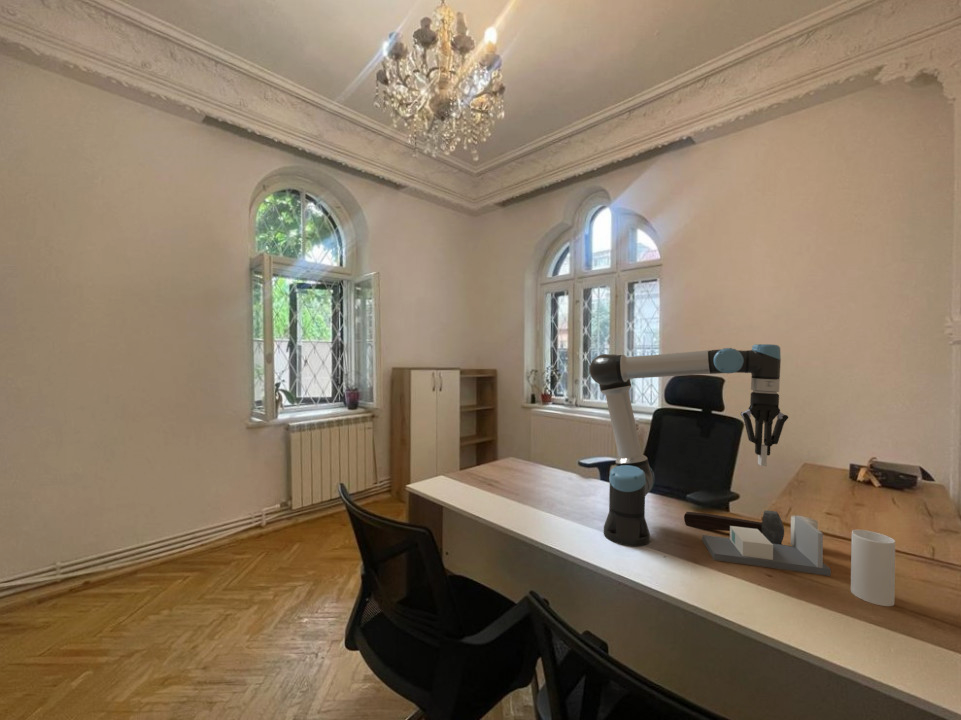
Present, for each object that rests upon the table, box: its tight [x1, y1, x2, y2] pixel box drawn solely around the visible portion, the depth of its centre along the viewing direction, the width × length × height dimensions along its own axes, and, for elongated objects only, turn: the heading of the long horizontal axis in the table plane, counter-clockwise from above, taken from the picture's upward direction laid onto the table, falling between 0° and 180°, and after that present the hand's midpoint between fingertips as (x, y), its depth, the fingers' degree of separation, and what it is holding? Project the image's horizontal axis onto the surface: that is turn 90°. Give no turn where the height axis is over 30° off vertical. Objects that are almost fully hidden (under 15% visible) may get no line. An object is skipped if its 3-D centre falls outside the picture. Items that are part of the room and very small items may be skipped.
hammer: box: [683, 510, 785, 545], centre depth 142 cm, size 5×11×30 cm
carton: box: [729, 526, 773, 560], centre depth 127 cm, size 8×12×4 cm
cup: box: [850, 529, 896, 607], centre depth 105 cm, size 8×8×16 cm
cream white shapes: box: [790, 515, 819, 546], centre depth 134 cm, size 7×7×9 cm
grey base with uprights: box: [701, 514, 832, 577], centre depth 126 cm, size 30×14×12 cm, turn 74°
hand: (762, 464), depth 129 cm, fingers closed
